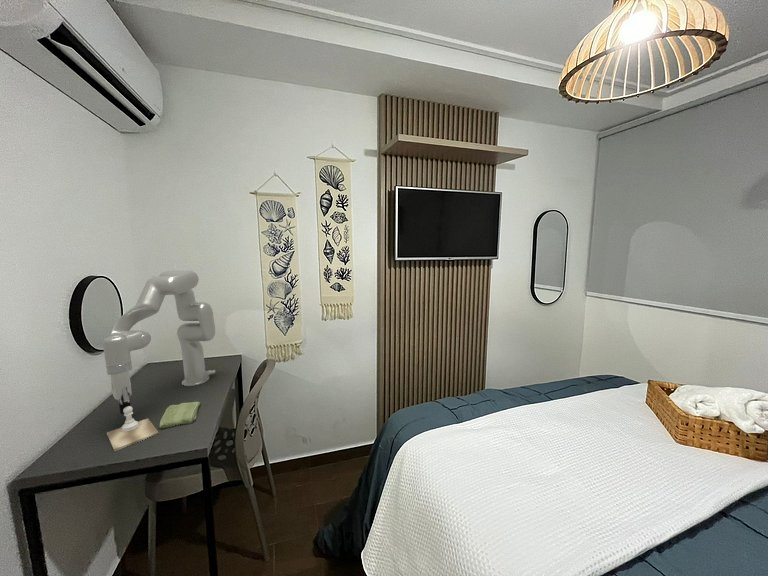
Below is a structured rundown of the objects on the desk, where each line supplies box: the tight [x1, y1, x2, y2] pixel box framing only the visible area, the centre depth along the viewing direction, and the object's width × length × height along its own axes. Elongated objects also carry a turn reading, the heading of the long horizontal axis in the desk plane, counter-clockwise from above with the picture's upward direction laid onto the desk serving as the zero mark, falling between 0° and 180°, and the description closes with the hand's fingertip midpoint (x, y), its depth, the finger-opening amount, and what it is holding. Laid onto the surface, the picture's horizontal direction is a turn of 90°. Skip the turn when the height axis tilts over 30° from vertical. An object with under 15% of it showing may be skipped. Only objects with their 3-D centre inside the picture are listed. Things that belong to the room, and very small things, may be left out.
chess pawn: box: [121, 406, 139, 432], centre depth 122 cm, size 5×5×9 cm
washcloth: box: [158, 401, 201, 430], centre depth 133 cm, size 13×18×3 cm
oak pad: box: [106, 417, 160, 452], centre depth 120 cm, size 13×16×1 cm
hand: (125, 412), depth 125 cm, fingers closed
